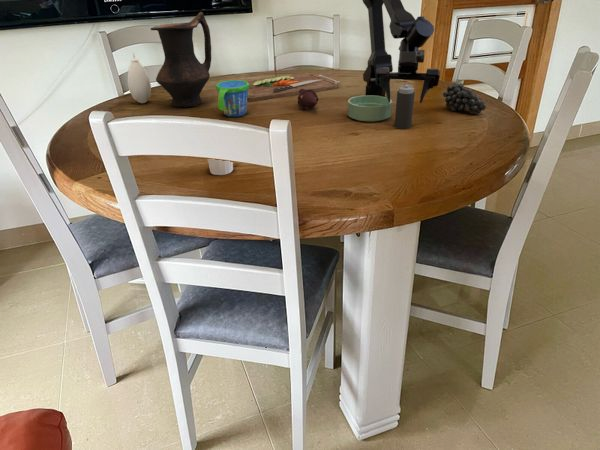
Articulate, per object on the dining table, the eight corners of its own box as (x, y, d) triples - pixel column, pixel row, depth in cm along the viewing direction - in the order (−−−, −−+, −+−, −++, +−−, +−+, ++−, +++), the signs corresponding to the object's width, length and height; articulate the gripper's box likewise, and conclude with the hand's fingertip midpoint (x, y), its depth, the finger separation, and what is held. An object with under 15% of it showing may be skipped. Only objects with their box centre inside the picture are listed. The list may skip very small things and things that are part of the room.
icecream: (328, 93, 151) (311, 88, 164) (308, 90, 148) (291, 84, 161) (324, 115, 154) (307, 107, 166) (304, 112, 151) (288, 104, 163)
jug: (170, 114, 157) (154, 18, 142) (154, 102, 170) (138, 14, 155) (227, 104, 166) (218, 13, 151) (207, 94, 180) (197, 9, 165)
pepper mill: (402, 122, 144) (406, 81, 137) (414, 126, 140) (419, 84, 134) (391, 125, 141) (394, 84, 135) (402, 130, 138) (406, 87, 131)
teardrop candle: (133, 106, 167) (122, 54, 158) (130, 101, 173) (120, 50, 164) (155, 103, 169) (146, 52, 160) (152, 98, 176) (142, 48, 167)
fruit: (493, 86, 144) (453, 77, 154) (477, 99, 141) (437, 89, 151) (493, 110, 150) (454, 100, 160) (477, 123, 147) (439, 112, 157)
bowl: (374, 107, 158) (375, 93, 156) (399, 118, 148) (400, 102, 145) (339, 113, 153) (339, 98, 151) (362, 125, 142) (363, 109, 140)
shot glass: (208, 165, 117) (205, 139, 113) (236, 164, 117) (233, 138, 114) (206, 176, 111) (202, 149, 107) (234, 175, 111) (232, 147, 108)
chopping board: (314, 74, 206) (314, 67, 204) (346, 86, 185) (346, 79, 183) (218, 88, 188) (217, 80, 187) (241, 103, 168) (240, 94, 166)
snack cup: (233, 122, 147) (230, 90, 142) (208, 118, 152) (204, 87, 147) (261, 110, 159) (259, 80, 154) (236, 106, 164) (234, 77, 158)
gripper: (378, 38, 135) (373, 86, 131) (443, 39, 131) (440, 88, 128) (377, 61, 146) (373, 105, 142) (438, 62, 142) (435, 108, 138)
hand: (404, 101), depth 137 cm, fingers open, 9 cm apart
